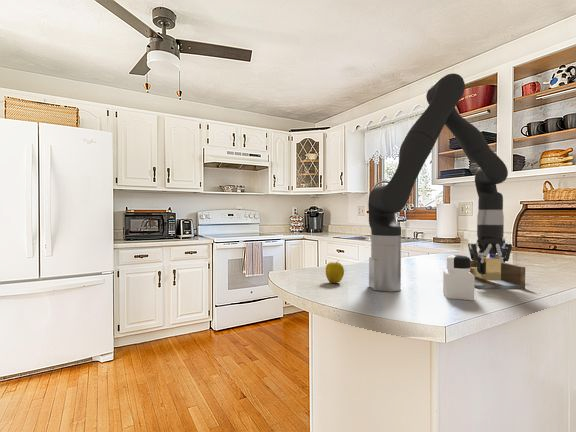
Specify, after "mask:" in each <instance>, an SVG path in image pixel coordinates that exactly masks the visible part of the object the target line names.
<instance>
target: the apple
mask: <svg viewBox="0 0 576 432" xmlns="http://www.w3.org/2000/svg"><path fill="white" fill-rule="evenodd" d="M325 276H326V278H327V281H328V283H330V284H338V283H340V282H342V280H343V277H344V276H345V269H344V266H343V264H341V262H339V260H337V261H335V262H328V263H327V264H326V266H325Z"/></svg>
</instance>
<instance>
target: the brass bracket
mask: <svg viewBox="0 0 576 432" xmlns="http://www.w3.org/2000/svg"><path fill="white" fill-rule="evenodd" d="M484 264H485V265H484V274H479V273H478V272H477V267H470V271H469V272H470V273H472V274H473V275H474V276H475V277H478V278H482V279H485V280H501V259H500V258H489V257H486V258H485V261H484Z"/></svg>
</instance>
